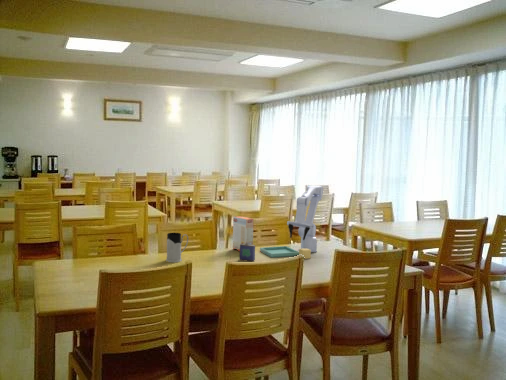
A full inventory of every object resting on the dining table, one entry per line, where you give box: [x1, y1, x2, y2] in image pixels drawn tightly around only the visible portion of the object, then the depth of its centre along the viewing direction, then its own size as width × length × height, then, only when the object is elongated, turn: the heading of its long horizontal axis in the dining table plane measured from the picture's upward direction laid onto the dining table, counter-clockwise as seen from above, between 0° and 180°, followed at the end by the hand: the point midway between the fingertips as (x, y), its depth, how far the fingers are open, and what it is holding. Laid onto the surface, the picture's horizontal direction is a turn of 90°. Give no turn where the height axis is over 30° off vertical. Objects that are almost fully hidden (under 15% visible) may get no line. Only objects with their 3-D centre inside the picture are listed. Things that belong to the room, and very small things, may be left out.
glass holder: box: [165, 232, 189, 263], centre depth 257 cm, size 9×14×15 cm, turn 137°
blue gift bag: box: [239, 242, 256, 262], centre depth 260 cm, size 9×3×11 cm, turn 68°
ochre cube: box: [298, 248, 312, 260], centre depth 270 cm, size 5×5×5 cm
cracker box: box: [232, 215, 254, 252], centre depth 284 cm, size 14×6×21 cm, turn 36°
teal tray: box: [259, 245, 299, 258], centre depth 279 cm, size 18×18×2 cm
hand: (297, 238), depth 269 cm, fingers open, 7 cm apart
